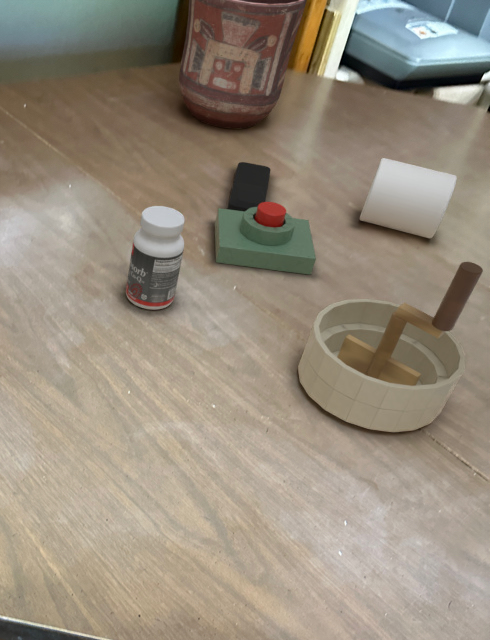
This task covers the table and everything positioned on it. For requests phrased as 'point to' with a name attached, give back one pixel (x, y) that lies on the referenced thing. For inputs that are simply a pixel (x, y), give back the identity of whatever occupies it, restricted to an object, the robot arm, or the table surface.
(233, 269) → the table surface
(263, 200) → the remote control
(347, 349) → the stirring paddle
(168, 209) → the pill bottle
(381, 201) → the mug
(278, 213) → the timer button
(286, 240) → the green button base
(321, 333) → the bowl
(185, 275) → the table surface
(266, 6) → the pottery
